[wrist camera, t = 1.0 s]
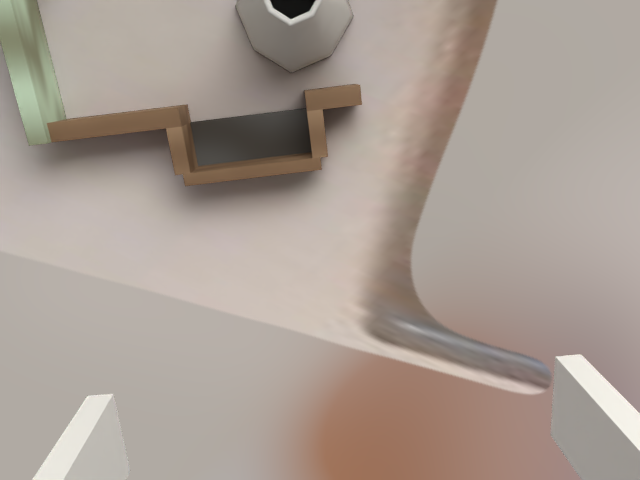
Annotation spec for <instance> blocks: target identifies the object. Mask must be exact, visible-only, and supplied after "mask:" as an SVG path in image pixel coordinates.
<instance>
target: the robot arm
mask: <svg viewBox="0 0 640 480" xmlns="http://www.w3.org/2000/svg"><path fill="white" fill-rule="evenodd" d="M553 389H554V390H553V404H552V422H551V436H552V438H553V439H554V441H555V442H556V444H557V445H558V446H559V448H560V449H561V451H562V452H563V454H564V455H565V457H566V458H567V459H568V461H569V462H570V464H571V465H572V467H573V468H574V470H575V471H576V473H577V474H578V476H579V477H580V478H581V480H640V414H639V413H638V412H637V411H636V410H635V409H634V407H633V406H631V405H630V403H629V402H628V401H627V400H626V399H625V398H624V397H623V396H622V395H621V394H620V393H619V392H618V391H617V390H616V389H615V388H614V387H613V386H612V385H611V384H610V383H609V382H607V380H606V379H605V378H604V377H603V376H601V374H600V373H599V372H598V371H597V370H596V369H595V368H594V367H593V366H592V365H591V364H590V363H589V362H588V361H587V360H586V359H585V358H584V357H583V356H582V355H568V356H556V357H555V371H554V388H553ZM129 473H130V468H129V463H128V459H127V454H126V449H125V445H124V440H123V435H122V431H121V427H120V421H119V417H118V413H117V408H116V403H115V399H114V394H105V395H93V396H87V397H86V399H85V401H84V402H83V404H82V405H81V407H80V408H79V410H78V411H77V413H76V414H75V416H74V417H73V419H72V420H71V422H70V423H69V425H68V426H67V428H66V429H65V431H64V432H63V434H62V435H61V437H60V439H59V440H58V442H57V443H56V445H55V446H54V448H53V449H52V451H51V452H50V454H49V455H48V457H47V458H46V460H45V461H44V463H43V464H42V466H41V467H40V469H39V470H38V472H37V474H36V475H35V476H34V478H33V479H32V480H127V477H128V475H129Z"/></svg>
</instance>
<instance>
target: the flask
mask: <svg viewBox="0 0 640 480" xmlns="http://www.w3.org/2000/svg"><path fill="white" fill-rule="evenodd" d="M235 7H236V9H237V11H238V14H239V16H240V18H241V21H242V23H243V25H244V28H245V30H246V33H247V35H248V37H249V40H250V42H251V44H252V47H253V49H254V50H255V51H257V52H259V53H260V54H262V55H263V56H265V57H267V58H268V59H270V60H272V61H273V62H275V63H276V64H278V65H280V66H281V67H283V68H284V69H286V70H288V71H289V72H291V73H292V72H294V71H296V70H299V69H301V68H303V67H306V66H308V65H310V64H313V63H315V62H317V61H320V60H322V59H324V58H327V57H329V56H331V55H332V53H333V51H334V49H335V48H336V46H337V44H338V42H339V41H340V39H341V37H342V35H343V34H344V32H345V30H346V28H347V27H348V25H349V23H350V21H351V20H352V18H353V13H352V10H351V7H350V4H349V2H348V0H238V2H237V4H236V6H235Z"/></svg>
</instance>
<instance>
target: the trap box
mask: <svg viewBox="0 0 640 480" xmlns="http://www.w3.org/2000/svg"><path fill="white" fill-rule="evenodd" d="M0 41H1V45H2V49H3V52H4V56H5V60H6V63H7V67H8V71H9V74H10V78H11V82H12V85H13V89H14V92H15V96H16V100H17V103H18V107H19V111H20V114H21V118H22V122H23V125H24V129H25V133H26V136H27V140H28V143H29V146H30V145H39V144H47V143H51V142H59V141H67V140H75V139H83V138H91V137H100V136H108V135H116V134H124V133H133V132H141V131H149V130H157V129H166V131H167V137H168V142H169V147H170V152H171V157H172V162H173V167H174V172H175V175H179V174H183V178H184V183H185V186H190V185H199V184H207V183H215V182H223V181H232V180H240V179H248V178H256V177H265V176H273V175H281V174H289V173H297V172H306V171H314V170H322V168H321V160H320V157H328V153H327V144H326V135H325V126H324V117H323V109H330V108H338V107H346V106H355V105H362V101H361V90H360V85H358V84H352V85H343V86H335V87H327V88H319V89H311V90H304V92H305V100H306V108H305V109H296V110H288V111H280V112H272V113H264V114H255V115H247V116H239V117H231V118H222V119H214V120H206V121H198V122H191V121H190V116H189V110H188V105H179V106H171V107H163V108H154V109H146V110H138V111H130V112H122V113H113V114H105V115H97V116H89V117H81V118H72V119H66V116H65V112H64V108H63V104H62V100H61V96H60V92H59V88H58V84H57V80H56V76H55V72H54V68H53V64H52V60H51V56H50V52H49V48H48V44H47V40H46V36H45V32H44V28H43V24H42V20H41V16H40V12H39V8H38V4H37V0H0Z"/></svg>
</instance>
